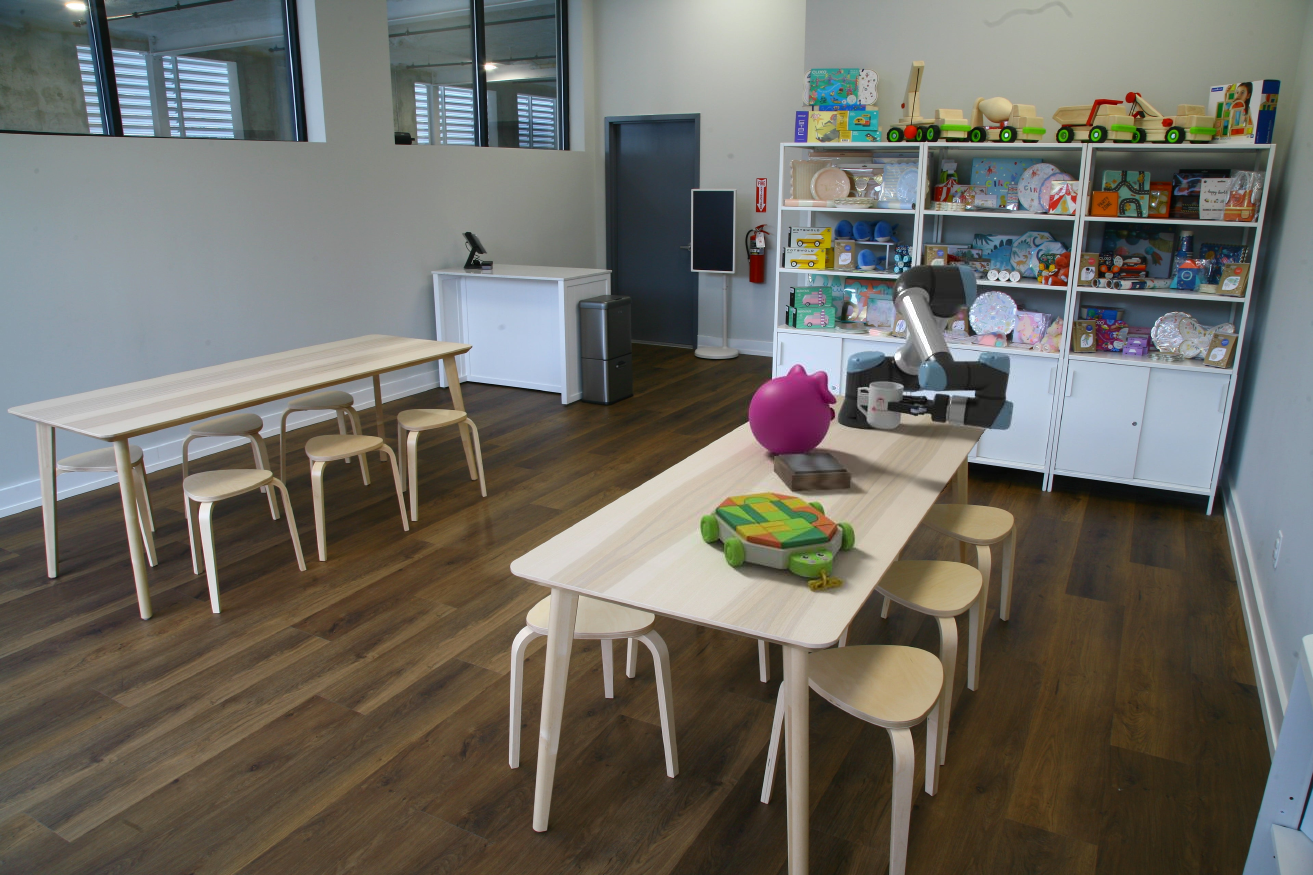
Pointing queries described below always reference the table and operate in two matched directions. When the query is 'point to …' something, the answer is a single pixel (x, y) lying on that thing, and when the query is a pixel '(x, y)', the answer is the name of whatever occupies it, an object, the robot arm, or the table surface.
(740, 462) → the table surface
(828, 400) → the figurine
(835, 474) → the walnut plinth
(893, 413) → the mug
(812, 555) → the toy wagon
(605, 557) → the table surface
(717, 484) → the table surface
